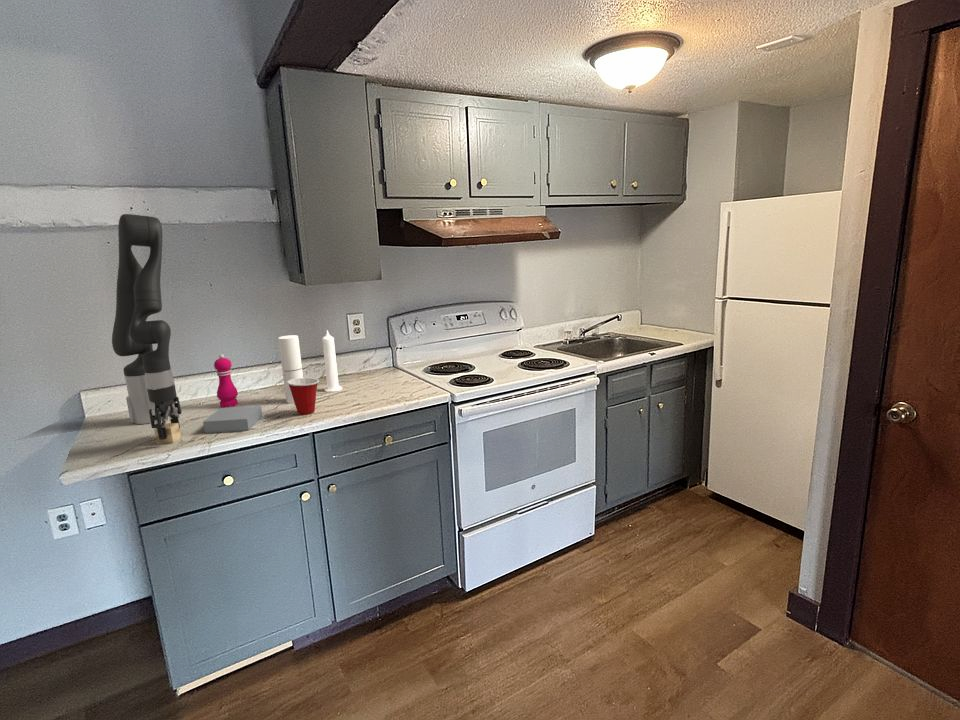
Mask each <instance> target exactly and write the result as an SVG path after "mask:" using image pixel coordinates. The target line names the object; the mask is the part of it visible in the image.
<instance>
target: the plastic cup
mask: <svg viewBox="0 0 960 720" xmlns="http://www.w3.org/2000/svg"><path fill="white" fill-rule="evenodd" d="M319 382H320V380H319V379H317V378H313V377H303V378H297V379H292V380H289V381H287V383H288V384H289V387H290V390H291V393H292V396H293V400H294V403H293V404H294V406H295V408H296V411H297V414H298V415H303V416H304V415H305V416H307V415H311V414H314V413H315V411H316V401H317V399H316V398H317V388H318V384H319Z"/></svg>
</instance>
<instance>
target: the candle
mask: <svg viewBox="0 0 960 720" xmlns="http://www.w3.org/2000/svg"><path fill="white" fill-rule="evenodd" d="M321 339H322V349H323V359H324V368H325V376H326V384H327V387H324V392H325V393H337V392H340V391H342V390H343V386H341V385H340V384H339V375H338V366H337V365H338V364H337V355H336V346H335V337H333V336H332V335H331V334H330V333H329V330H328V329H326V332H325V335H324V336H323V337H322V338H321Z"/></svg>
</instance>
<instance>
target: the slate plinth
mask: <svg viewBox="0 0 960 720" xmlns="http://www.w3.org/2000/svg"><path fill="white" fill-rule="evenodd" d="M262 418H263V411H262V405H253V406H252V405H251V406H236V407H235V406H232V407H220V408H219V409H218V410H216V411H215V412H213V413H212V414H210V416H208V417H207V418H206V419H204V420H202V421H203V422H202V423H203V429H204V433H205V434H213V433H215V434H216V433H229V432H230V433H231V432H232V433H233V432H247V431H250V430H251V429H252V428H253V427H254V426H255V425H256V424H257V423H258V422H259V421H260V420H261V419H262Z"/></svg>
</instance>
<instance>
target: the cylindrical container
mask: <svg viewBox="0 0 960 720" xmlns="http://www.w3.org/2000/svg"><path fill="white" fill-rule="evenodd" d="M277 338H278V339H277V340H278V347H279V354H280V355H279V356H280V362H281V370H282V377H283V385H284V392H285V401H286V403H288V404H295V403H294V400H293V396H292V393H291V390H290V387H289V384H288V383H287V381H289V380H292V379H297V378H304V372H303V368H302V367H303V365H302V356H301V347H300V340H299V336H298V334H297V335H296V334H295V335H293V334H292V335H289V334H288V335H282V336H279V337H277Z"/></svg>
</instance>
